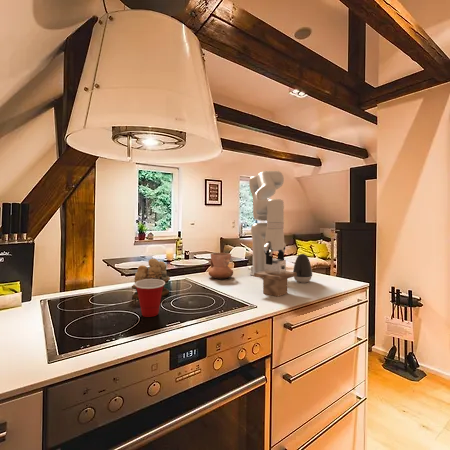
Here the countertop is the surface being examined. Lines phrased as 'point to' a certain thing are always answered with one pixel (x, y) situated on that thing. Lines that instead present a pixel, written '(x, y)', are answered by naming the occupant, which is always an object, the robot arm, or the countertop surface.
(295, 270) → the dark egg shaped dome
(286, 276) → the walnut stand
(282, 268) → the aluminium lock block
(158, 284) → the plastic cup
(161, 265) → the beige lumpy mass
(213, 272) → the ceramic jug
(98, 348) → the countertop surface
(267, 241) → the robot arm
